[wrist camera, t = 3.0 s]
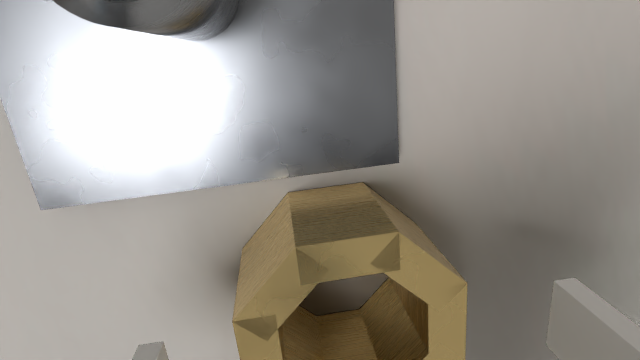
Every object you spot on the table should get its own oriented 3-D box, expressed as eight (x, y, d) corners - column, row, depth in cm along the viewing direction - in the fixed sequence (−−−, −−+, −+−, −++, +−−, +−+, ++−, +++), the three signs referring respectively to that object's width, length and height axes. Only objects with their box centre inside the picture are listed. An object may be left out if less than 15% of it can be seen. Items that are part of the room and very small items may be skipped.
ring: (261, 349, 19) (258, 446, 14) (233, 199, 16) (218, 258, 12) (417, 322, 20) (463, 407, 15) (414, 175, 17) (469, 221, 12)
